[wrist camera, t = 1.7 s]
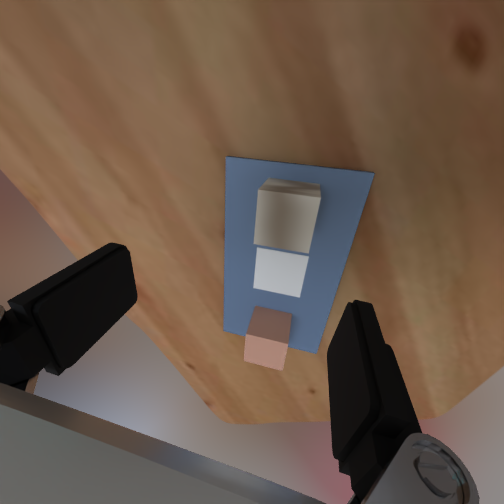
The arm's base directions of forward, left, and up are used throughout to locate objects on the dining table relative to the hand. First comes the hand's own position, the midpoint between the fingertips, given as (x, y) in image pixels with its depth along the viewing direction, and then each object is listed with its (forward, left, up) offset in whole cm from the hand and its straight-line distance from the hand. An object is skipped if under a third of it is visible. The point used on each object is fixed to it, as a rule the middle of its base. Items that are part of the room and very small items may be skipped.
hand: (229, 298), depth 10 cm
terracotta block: (-1, +18, -16) cm, 24 cm away
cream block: (-1, +1, -16) cm, 16 cm away
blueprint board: (-1, +9, -17) cm, 19 cm away
